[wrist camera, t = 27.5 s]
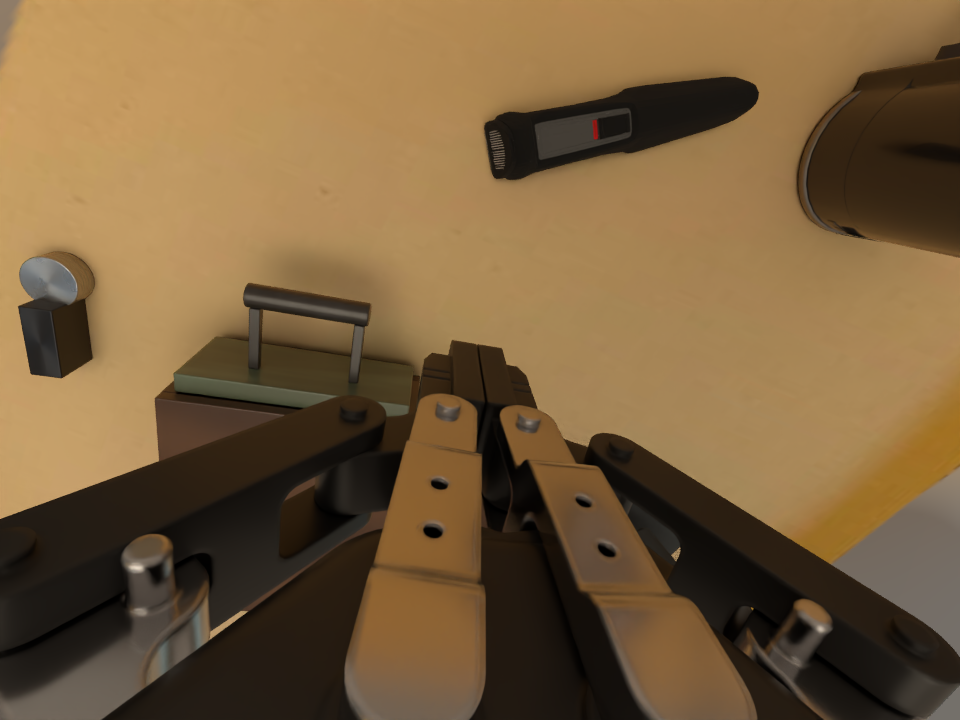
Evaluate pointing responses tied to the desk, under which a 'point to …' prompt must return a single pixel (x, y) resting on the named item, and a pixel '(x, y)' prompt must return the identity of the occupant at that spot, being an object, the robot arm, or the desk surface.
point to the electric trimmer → (613, 124)
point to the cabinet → (209, 419)
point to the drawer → (294, 360)
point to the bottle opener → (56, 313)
